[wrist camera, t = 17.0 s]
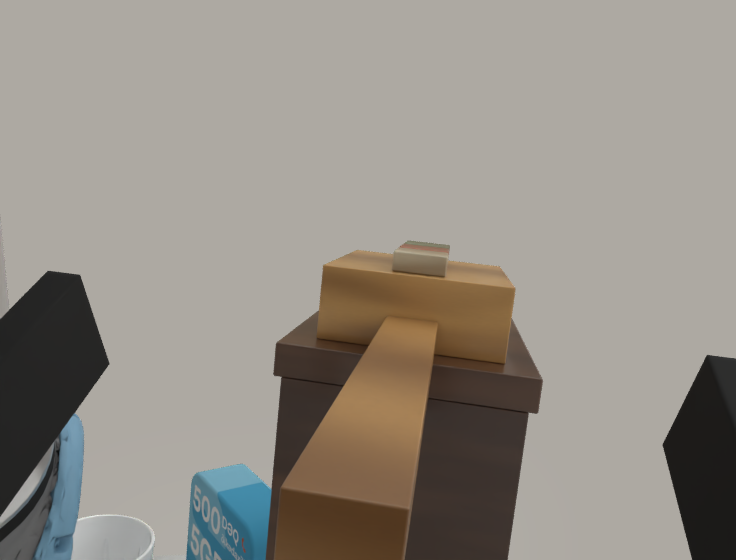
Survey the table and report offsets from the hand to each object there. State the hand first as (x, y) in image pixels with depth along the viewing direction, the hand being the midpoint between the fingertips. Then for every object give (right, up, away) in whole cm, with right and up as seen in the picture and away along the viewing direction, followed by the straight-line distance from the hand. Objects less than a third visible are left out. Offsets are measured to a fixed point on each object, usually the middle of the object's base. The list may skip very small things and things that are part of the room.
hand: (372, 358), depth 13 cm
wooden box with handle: (+1, -2, +12) cm, 12 cm away
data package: (-11, -28, +39) cm, 49 cm away
